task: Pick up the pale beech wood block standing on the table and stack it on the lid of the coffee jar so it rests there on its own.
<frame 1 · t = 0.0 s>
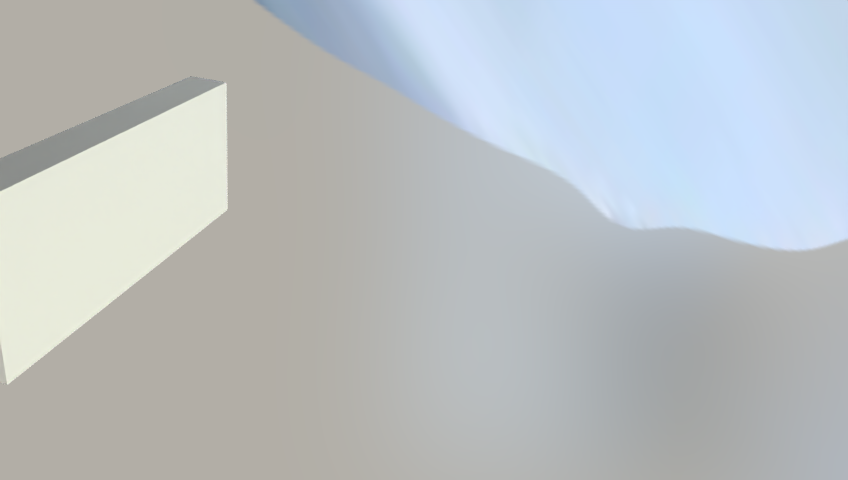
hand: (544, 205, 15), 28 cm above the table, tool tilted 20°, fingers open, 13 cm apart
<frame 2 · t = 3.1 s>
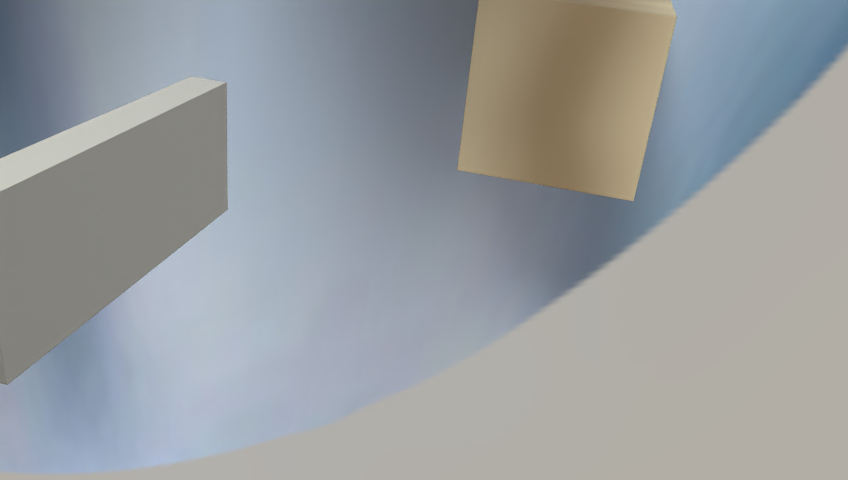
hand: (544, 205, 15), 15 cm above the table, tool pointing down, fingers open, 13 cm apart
beech block: (576, 43, 28), on the table
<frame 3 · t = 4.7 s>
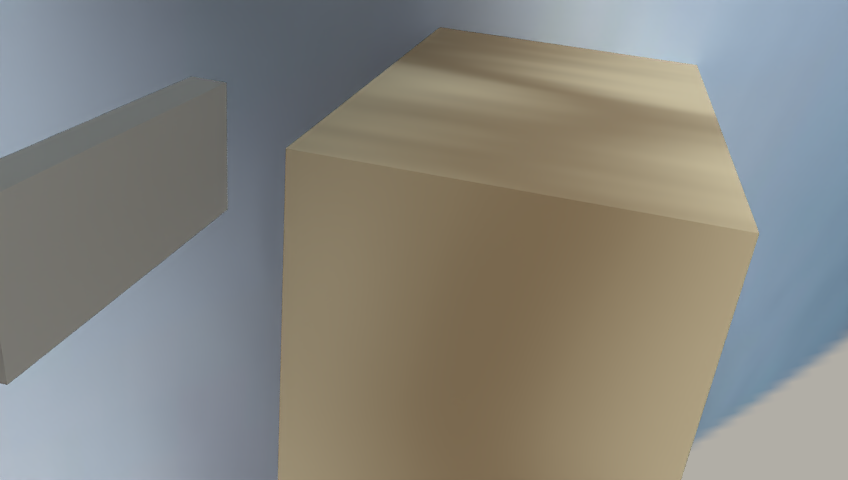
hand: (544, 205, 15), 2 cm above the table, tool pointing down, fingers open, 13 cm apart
beech block: (543, 165, 16), on the table
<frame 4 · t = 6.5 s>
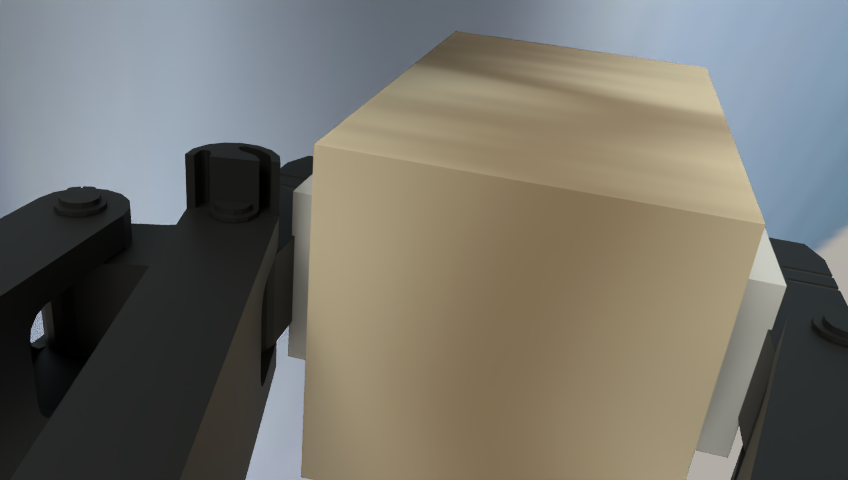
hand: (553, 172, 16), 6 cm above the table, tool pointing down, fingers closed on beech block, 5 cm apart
beech block: (556, 166, 17), point 6 cm above the table, touching gripper
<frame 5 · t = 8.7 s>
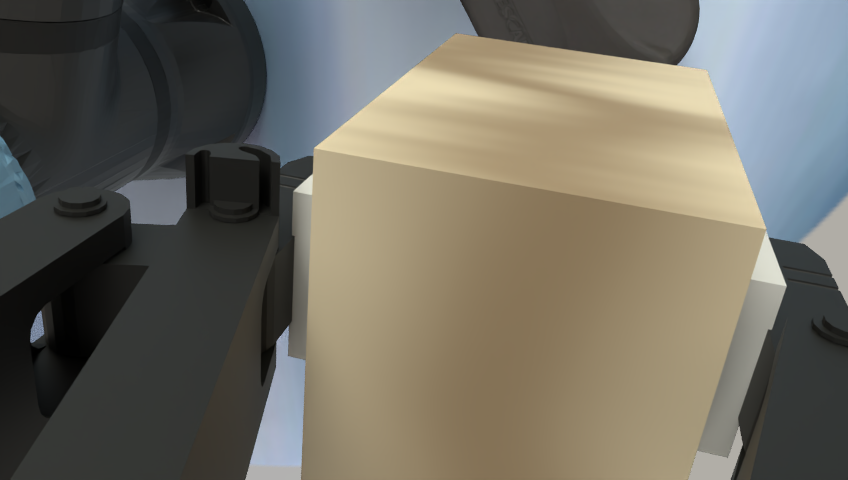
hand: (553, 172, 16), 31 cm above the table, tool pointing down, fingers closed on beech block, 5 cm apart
beech block: (556, 168, 17), point 30 cm above the table, touching gripper
when the fingers open (20 cm above the table, at t = 11.2 s): beech block stays where it is, resting on coffee jar.
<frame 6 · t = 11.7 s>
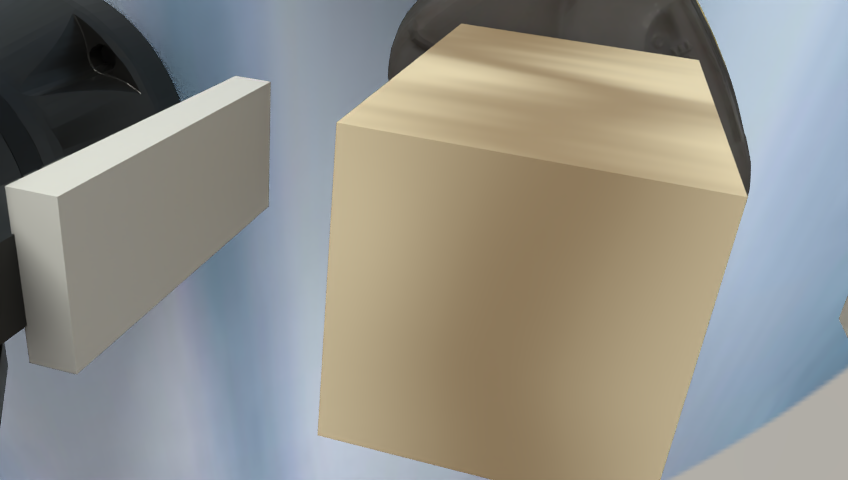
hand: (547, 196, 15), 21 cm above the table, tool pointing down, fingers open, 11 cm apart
beech block: (555, 153, 18), point 18 cm above the table, touching coffee jar
coffee jar: (596, 23, 34), on the table, touching beech block
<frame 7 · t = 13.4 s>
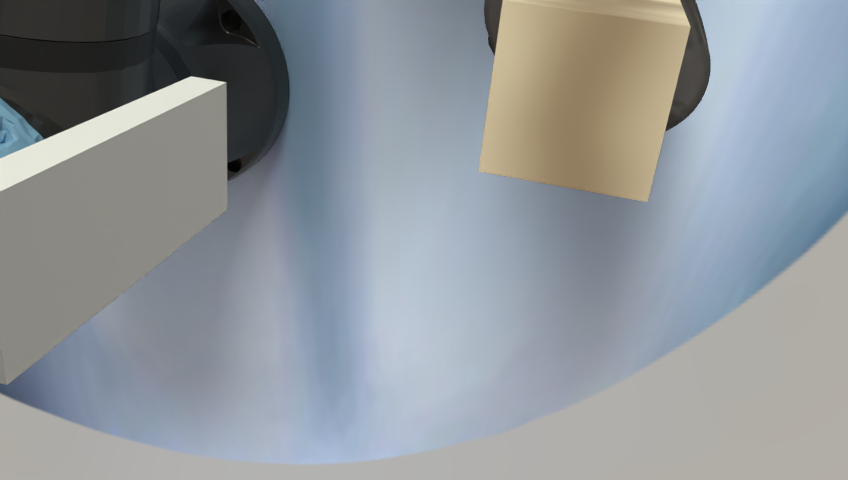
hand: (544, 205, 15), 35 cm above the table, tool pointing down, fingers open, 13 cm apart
beech block: (591, 51, 29), point 18 cm above the table, touching coffee jar
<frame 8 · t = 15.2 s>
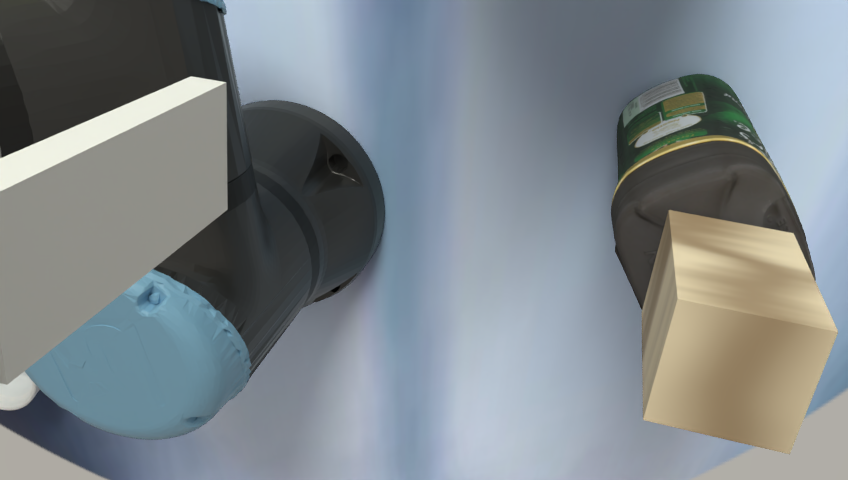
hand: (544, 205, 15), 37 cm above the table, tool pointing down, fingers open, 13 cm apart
beech block: (714, 274, 34), point 18 cm above the table, touching coffee jar
coffee jar: (689, 145, 50), on the table, touching beech block
ramekin: (25, 340, 71), on the table
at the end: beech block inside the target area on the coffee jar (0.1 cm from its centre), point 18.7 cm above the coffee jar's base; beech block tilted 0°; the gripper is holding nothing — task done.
